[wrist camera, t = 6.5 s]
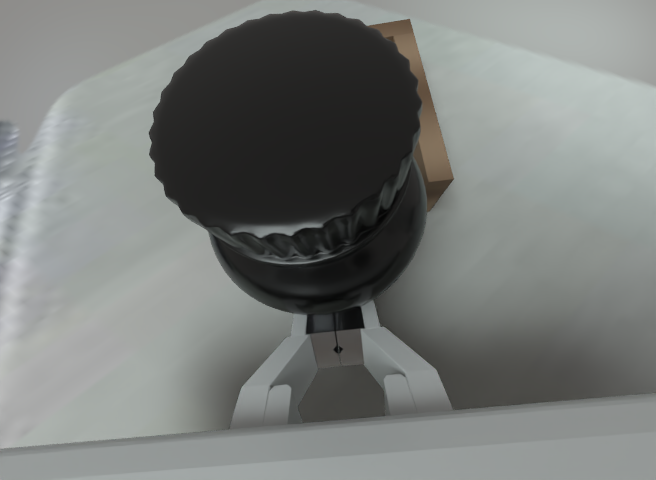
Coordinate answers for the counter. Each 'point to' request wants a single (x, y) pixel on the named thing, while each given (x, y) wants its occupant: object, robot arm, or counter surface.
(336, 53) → the supplement bottle
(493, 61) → the counter surface
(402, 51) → the walnut holder
